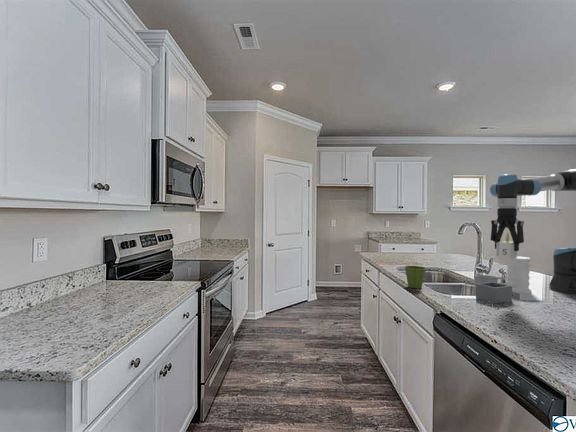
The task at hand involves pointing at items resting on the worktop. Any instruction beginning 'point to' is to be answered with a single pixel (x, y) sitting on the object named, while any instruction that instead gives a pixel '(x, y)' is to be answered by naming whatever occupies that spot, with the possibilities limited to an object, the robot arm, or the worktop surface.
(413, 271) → the plant pot
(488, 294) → the slate holder
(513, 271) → the decorative container
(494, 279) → the teacup
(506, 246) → the candle
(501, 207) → the robot arm
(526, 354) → the worktop surface
